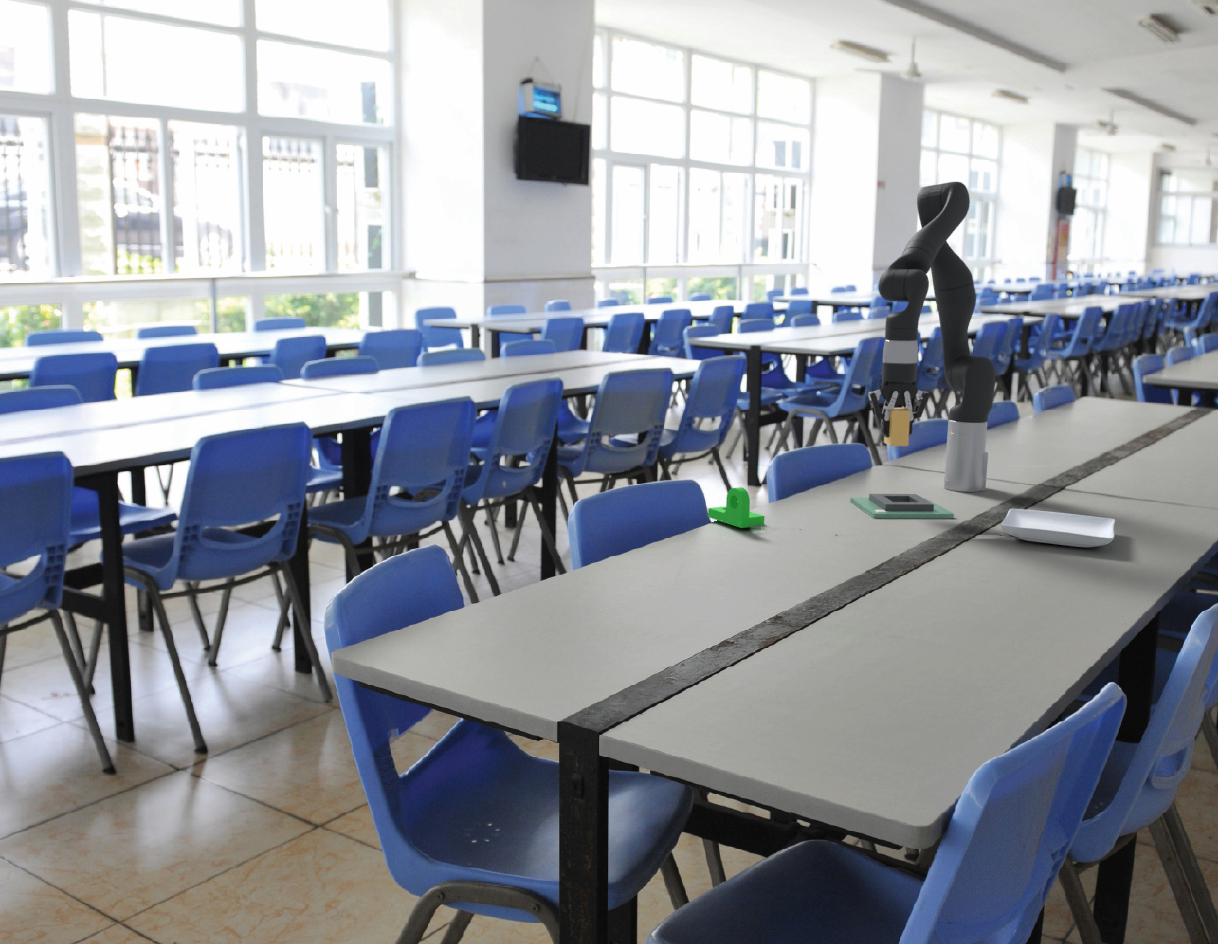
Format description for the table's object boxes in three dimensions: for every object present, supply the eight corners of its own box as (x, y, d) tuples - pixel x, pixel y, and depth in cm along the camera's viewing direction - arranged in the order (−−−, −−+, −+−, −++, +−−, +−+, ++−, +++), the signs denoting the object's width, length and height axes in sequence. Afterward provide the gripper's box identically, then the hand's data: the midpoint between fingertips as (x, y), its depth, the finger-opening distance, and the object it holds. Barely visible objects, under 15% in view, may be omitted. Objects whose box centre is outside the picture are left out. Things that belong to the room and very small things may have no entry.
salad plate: (1114, 532, 238) (1115, 516, 237) (1112, 553, 219) (1114, 536, 218) (1008, 521, 247) (1009, 506, 246) (998, 541, 228) (999, 525, 227)
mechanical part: (764, 525, 238) (765, 488, 237) (741, 527, 235) (742, 490, 234) (730, 514, 248) (731, 478, 247) (708, 517, 245) (709, 480, 244)
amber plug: (901, 442, 256) (902, 407, 254) (908, 446, 251) (910, 410, 250) (883, 442, 256) (885, 407, 254) (890, 446, 251) (892, 410, 249)
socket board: (925, 502, 265) (925, 491, 265) (953, 518, 247) (954, 507, 247) (850, 501, 264) (850, 491, 263) (873, 518, 246) (874, 506, 246)
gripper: (925, 359, 254) (921, 434, 257) (863, 359, 253) (860, 434, 256) (937, 361, 247) (933, 439, 250) (873, 361, 246) (870, 439, 249)
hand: (896, 436), depth 253 cm, fingers closed on amber plug, 4 cm apart
